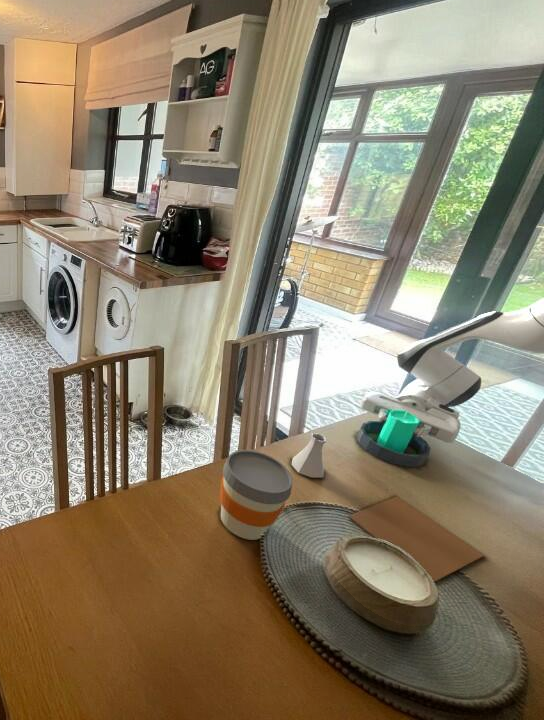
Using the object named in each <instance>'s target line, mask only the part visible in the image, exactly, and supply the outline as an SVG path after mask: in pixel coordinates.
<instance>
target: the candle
mask: <svg viewBox="0 0 544 720" xmlns="http://www.w3.org/2000/svg"><path fill="white" fill-rule="evenodd" d="M419 422H420V421H419V420H418V418H416V417H415V416H414V415H412V414H411V413H409V412H407V411H405V410H392V411H391V412H390V413H389V415H388V418H387V421H386V423H385V424H384V426H383V428H382V431H381V433H379V435H378V438H377V440H376V442H377V443H378V444H380V445H382V446H384V447H386V448H389V449H391V450H394V451H396V452H401V453H405V451H406V449H407V448H408V446H409V445H410V444H409V442H410V440H411V438H412V436H413V435H412V434H413V432H414V430H415V429H416V428H417V426H418V424H419Z"/></svg>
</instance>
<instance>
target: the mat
mask: <svg viewBox="0 0 544 720" xmlns="http://www.w3.org/2000/svg"><path fill="white" fill-rule="evenodd" d="M364 514H366V515H364ZM348 518H349V519H350V520H351V521H353V523H355V524H357V525H358V526H359V527H360V528H362V529H363V530H364V531H365V532H366V533H368V534H369V535H370V536H372V538H374V539H376V538H380V539H383V540H386V541H388V542H390V543H392V544H394V545H396V546H399V547H400V548H402V549H403V550H405V551H406V552H407V553H409V554H410V555H411V556H412V557H413V558H414V559H415V560H416V561H417V562H419V564H420V565H421V566H422V567H423V568H424V569H425V570H426V572H427V573H428V574H429V575H430V576H431V577H432V579H433V580H434V581H435V582H434V583H436V582H438V581H439V580H442V579H443V578H446V577H447V576H450V575H451V574H453V573H455V572H457V571H459V570H461V569H463V568H464V567H467V566H469V565H470V564H472V563H474V562H476V561H478V560H480V559H482V558H484V557H485V554H483V553H482V552H481V551H479V550H477V549H476V548H474V547H473V546H471V544H468V543H467V542H466V541H464V540H463V539H461V538H460V537H459V536H457V535H456V534H454V533H452V532H451V531H449V530H448V529H446V528H445V527H443V526H442V525H440V524H439V523H437V522H436V521H435V520H433V519H432V518H430V517H428V516H427V515H426V514H424V513H423V512H421V511H420V510H418V509H416V508H415V507H414V506H412V505H411V504H410V503H408V502H406V501H405V500H403V499H402V498H400V497H399V496H395V497H391V498H390V499H387V500H385V501H382V502H379V503H377V504H374V505H372V506H369V507H367V508H364V509H362V510H359V511H357V512H355V513H353V514H350V515H348Z"/></svg>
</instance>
